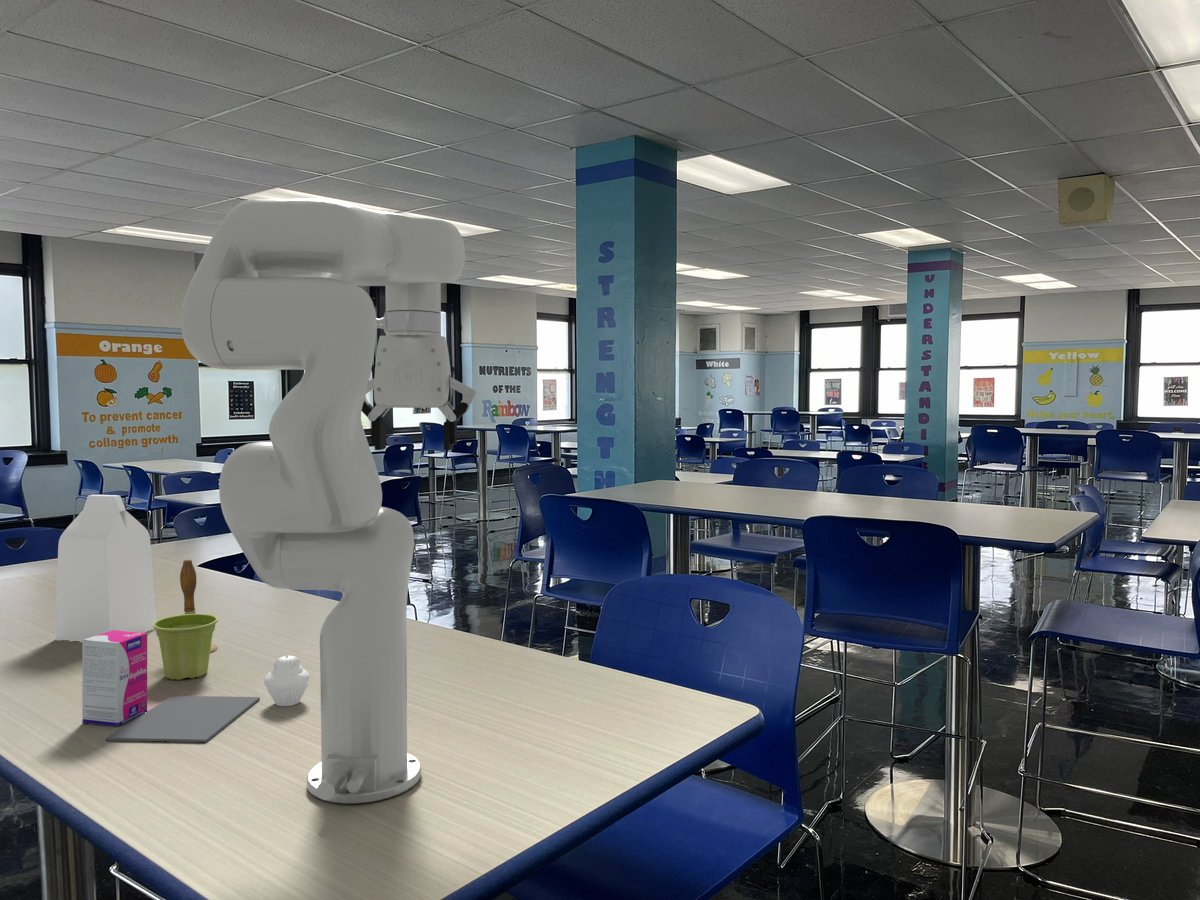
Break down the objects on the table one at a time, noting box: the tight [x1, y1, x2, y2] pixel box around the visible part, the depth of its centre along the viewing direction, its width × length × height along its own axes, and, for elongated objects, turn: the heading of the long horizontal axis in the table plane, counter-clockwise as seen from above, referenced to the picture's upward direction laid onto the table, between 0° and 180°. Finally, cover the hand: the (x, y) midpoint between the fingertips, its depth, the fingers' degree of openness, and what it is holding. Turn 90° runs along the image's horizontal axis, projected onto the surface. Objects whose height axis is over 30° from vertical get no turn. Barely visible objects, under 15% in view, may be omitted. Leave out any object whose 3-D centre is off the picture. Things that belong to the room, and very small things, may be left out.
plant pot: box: [153, 613, 219, 681], centre depth 137 cm, size 9×9×9 cm
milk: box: [54, 494, 158, 643], centre depth 161 cm, size 12×12×26 cm
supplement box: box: [81, 630, 148, 727], centre depth 118 cm, size 6×6×12 cm
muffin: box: [264, 654, 310, 707], centre depth 125 cm, size 6×6×7 cm
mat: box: [105, 695, 261, 744], centre depth 118 cm, size 16×13×1 cm
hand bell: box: [179, 559, 218, 654], centre depth 150 cm, size 8×8×16 cm
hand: (414, 449), depth 121 cm, fingers open, 9 cm apart
